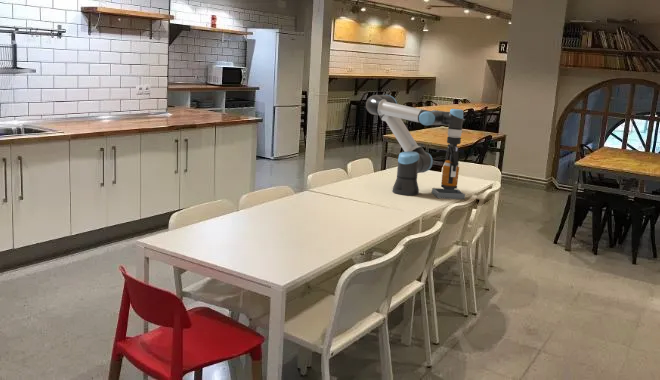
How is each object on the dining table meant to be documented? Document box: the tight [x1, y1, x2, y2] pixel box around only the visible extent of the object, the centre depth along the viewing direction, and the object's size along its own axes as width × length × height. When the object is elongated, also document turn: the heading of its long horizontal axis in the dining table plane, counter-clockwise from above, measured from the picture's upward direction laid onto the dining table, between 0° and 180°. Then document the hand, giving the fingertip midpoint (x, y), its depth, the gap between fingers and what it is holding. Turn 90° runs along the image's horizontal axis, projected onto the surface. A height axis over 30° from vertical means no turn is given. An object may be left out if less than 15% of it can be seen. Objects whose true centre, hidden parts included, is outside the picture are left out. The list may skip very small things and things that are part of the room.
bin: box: [431, 187, 466, 200], centre depth 355 cm, size 16×14×3 cm
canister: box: [440, 154, 460, 190], centre depth 352 cm, size 9×11×20 cm
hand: (450, 175), depth 353 cm, fingers closed on canister, 10 cm apart
